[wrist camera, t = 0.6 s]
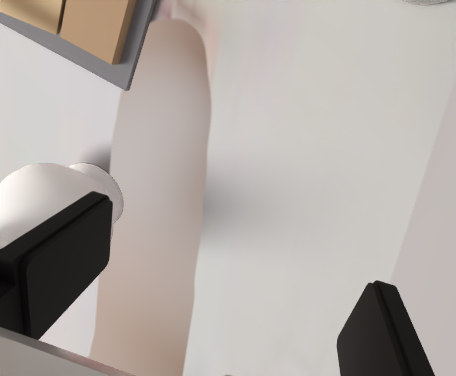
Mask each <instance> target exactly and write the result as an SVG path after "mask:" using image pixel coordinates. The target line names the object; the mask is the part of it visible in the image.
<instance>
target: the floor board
mask: <svg viewBox="0 0 456 376" xmlns="http://www.w3.org/2000/svg"><path fill="white" fill-rule="evenodd" d="M155 3H156V0H66V3H65V9H64V14H63V20H62V26H61V31H60V33H59V34H57V35H55V34H52V33H50V32H48V31H45V30H43V29H40V28H38V27H36V26H33V25H31V24H28V23H26V22H24V21H21V20H19V19H16V18H14V17H12V16H9V15H7V14H4V13H2V12H0V23H1V24H3V25H5V26H7V27H9V28H11V29H12V30H14V31H16V32H18V33H20V34H22V35H24V36H25V37H27V38H29V39H31V40H33V41H35V42H37V43H38V44H40V45H42V46H44V47H46V48H48V49H49V50H51V51H53V52H55V53H57V54H59V55H61V56H62V57H64V58H66V59H68V60H70V61H72V62H74V63H75V64H77V65H79V66H81V67H83V68H85V69H87V70H88V71H90V72H92V73H94V74H96V75H98V76H99V77H101V78H103V79H105V80H107V81H109V82H111V83H112V84H114V85H116V86H118V87H120V88H122V89H124V90H125V91H127V90H129V89H130V86H131V82H132V79H133V76H134V72H135V69H136V65H137V62H138V59H139V56H140V52H141V49H142V46H143V43H144V39H145V36H146V33H147V29H148V26H149V23H150V19H151V16H152V13H153V10H154V6H155Z"/></svg>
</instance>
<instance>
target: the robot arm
mask: <svg viewBox="0 0 456 376" xmlns="http://www.w3.org/2000/svg"><path fill="white" fill-rule="evenodd" d="M403 1H406V2H409V3H412V4H419V5H430V4H438V3H441V2H444V1H448V0H403ZM112 212H113V202H112V201H111V200H110V198H109V196H108V195H105V194H102V193H98V192H95V191H91V192H89V193H88V194H86V195H85V196H83V197H82V198H80V199H78V200H77V201H75V202H74V203H72V204H71V205H69V206H67V207H66V208H64V209H63V210H61V211H60V212H58V213H56V214H55V215H53V216H52V217H50V218H49V219H47V220H45V221H44V222H42V223H41V224H39V225H38V226H36V227H34V228H33V229H31V230H30V231H28V232H27V233H25V234H23V235H22V236H20V237H19V238H17V239H16V240H14V241H12V242H11V243H9V244H8V245H6V246H5V247H3V248H1V249H0V376H134V375H132V374H129V373H126V372H123V371H121V370H118V369H115V368H113V367H110V366H107V365H104V364H102V363H99V362H96V361H93V360H91V359H88V358H85V357H83V356H80V355H77V354H75V353H72V352H69V351H66V350H64V349H61V348H58V347H56V346H53V345H50V344H47V343H44V342H42V341H39V339H40V338H41V337H42V336H43V334H44V333H45V332H46V331H47V330H48V329H49V328H50V327H51V326H52V325H53V324H54V323H55V321H56V320H57V319H58V318H59V317H60V316H61V315H62V314H63V313H64V312H65V311H66V310H67V309H68V307H69V306H70V305H71V304H72V303H73V302H74V301H75V300H76V299H77V298H78V297H79V296H80V294H81V293H82V292H83V291H84V290H85V289H86V288H87V287H88V286H89V285H90V284H91V283H92V282H93V280H94V279H95V278H96V277H97V276H98V275H99V274H100V272H102V271H103V270H104V269H105V267H106V266H107V264H108V261H109V256H110V242H111V227H112ZM337 352H338V360H339V367H340V374H341V376H435V375H434V372H433V370H432V368H431V366H430V363H429V361H428V359H427V356H426V354H425V352H424V350H423V347H422V345H421V343H420V340H419V338H418V336H417V333H416V331H415V329H414V327H413V324H412V322H411V320H410V318H409V315H408V313H407V310H406V308H405V306H404V304H403V301H402V299H401V297H400V294H399V292H398V290H397V288H396V287H395V286H394V285H391V284H387V283H384V282H381V281H378V280H377V281H375V282H374V283H368V284H367V286H366V288H365V289H364V291H363V293H362V295H361V297H360V298H359V300H358V302H357V304H356V306H355V307H354V309H353V311H352V313H351V314H350V316H349V318H348V320H347V322H346V323H345V325H344V327H343V329H342V331H341V332H340V334H339V336H338V339H337Z"/></svg>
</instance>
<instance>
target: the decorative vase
mask: <svg viewBox="0 0 456 376" xmlns="http://www.w3.org/2000/svg"><path fill="white" fill-rule="evenodd" d="M91 191H95V192H98V193H102V194H105V195H108V196H109V198H110V200H111V201H112V202H113V212H112V227H111V238H112V234H113V224H114V223H115V222H116V221H117V220H118V219H119V217H120V215H121V214H122V211H123V197H122V193H121V190H120V188H119V186H118V185H117V183H116V182H115V180H114V179H113V178H112V177H111V176H110V175H109V174H108V173H107V172H106V171H104V170H103V169H101V168H99V167H97V166H95V165H92V164H88V163H78V164H74V165H72V166H70V167H66V166H63V165H58V164H52V163H39V164H33V165H29V166H26V167H23V168H21V169H19V170H17V171H15V172H13V173H12V174H10V175H9V176H8V177H6V178H5V179H4V180H3V181H2V182H1V183H0V249H1V248H3V247H5V246H6V245H8V244H9V243H11V242H12V241H14V240H16V239H17V238H19V237H20V236H22V235H23V234H25V233H27V232H28V231H30V230H31V229H33V228H34V227H36V226H38V225H39V224H41V223H42V222H44V221H45V220H47V219H49V218H50V217H52V216H53V215H55V214H56V213H58V212H60V211H61V210H63V209H64V208H66V207H67V206H69V205H71V204H72V203H74V202H75V201H77V200H78V199H80V198H82V197H83V196H85V195H86V194H88V193H89V192H91Z"/></svg>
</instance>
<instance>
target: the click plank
mask: <svg viewBox="0 0 456 376" xmlns="http://www.w3.org/2000/svg"><path fill="white" fill-rule="evenodd" d="M65 3H66V0H0V12H2V13H4V14H7V15H9V16H12V17H14V18H16V19H19V20H21V21H24V22H26V23H28V24H31V25H33V26H36V27H38V28H40V29H43V30H45V31H48V32H50V33H52V34H55V35H57V34H59V33H60V31H61V26H62V20H63V14H64V9H65Z"/></svg>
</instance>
